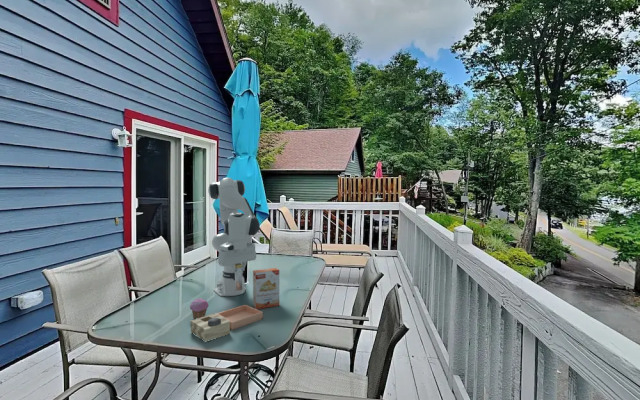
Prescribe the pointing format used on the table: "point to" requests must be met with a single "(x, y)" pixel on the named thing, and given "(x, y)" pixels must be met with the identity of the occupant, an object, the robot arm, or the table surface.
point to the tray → (241, 316)
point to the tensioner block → (210, 327)
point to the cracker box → (265, 288)
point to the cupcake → (199, 308)
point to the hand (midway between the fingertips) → (238, 271)
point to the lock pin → (238, 276)
